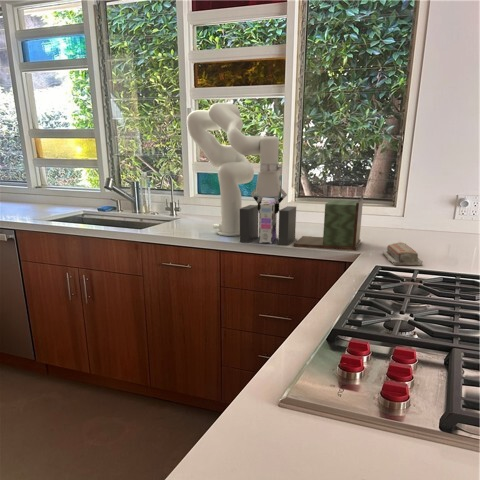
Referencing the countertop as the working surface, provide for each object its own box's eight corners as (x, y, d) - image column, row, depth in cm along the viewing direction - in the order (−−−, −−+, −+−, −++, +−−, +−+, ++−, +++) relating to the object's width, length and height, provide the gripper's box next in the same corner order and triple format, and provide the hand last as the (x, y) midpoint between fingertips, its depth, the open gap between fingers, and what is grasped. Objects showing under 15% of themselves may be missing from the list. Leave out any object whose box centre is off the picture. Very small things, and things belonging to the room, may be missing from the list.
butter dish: (424, 252, 157) (394, 251, 157) (422, 266, 158) (393, 265, 159) (410, 241, 173) (383, 241, 174) (408, 254, 175) (381, 253, 176)
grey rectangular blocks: (239, 242, 198) (239, 208, 193) (249, 236, 210) (249, 204, 205) (287, 245, 192) (288, 210, 187) (295, 238, 204) (296, 206, 199)
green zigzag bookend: (293, 246, 189) (295, 200, 183) (302, 238, 204) (304, 196, 198) (356, 250, 182) (360, 203, 175) (360, 242, 197) (364, 198, 190)
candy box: (272, 243, 194) (273, 203, 188) (258, 243, 195) (258, 203, 189) (276, 237, 207) (277, 199, 201) (263, 237, 208) (264, 199, 202)
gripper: (291, 168, 191) (290, 212, 197) (251, 167, 196) (251, 210, 203) (287, 169, 184) (286, 214, 191) (246, 168, 190) (246, 213, 196)
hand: (268, 212), depth 197 cm, fingers closed on candy box, 6 cm apart
